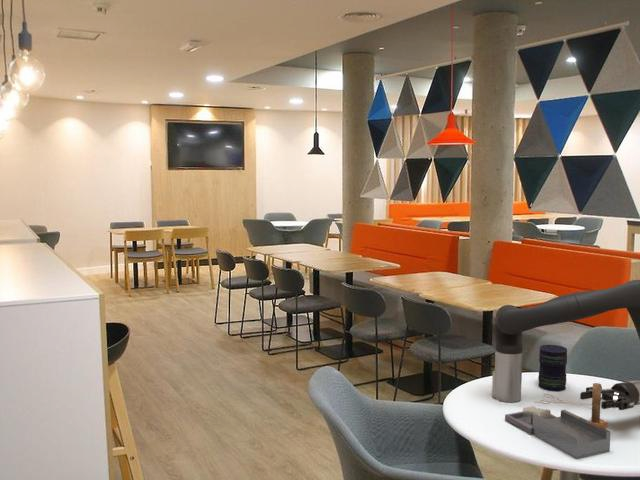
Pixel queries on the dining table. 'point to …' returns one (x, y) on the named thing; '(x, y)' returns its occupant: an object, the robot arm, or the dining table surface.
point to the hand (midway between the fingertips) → (591, 400)
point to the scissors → (559, 401)
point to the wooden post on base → (597, 406)
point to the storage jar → (552, 368)
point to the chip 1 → (528, 414)
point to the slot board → (572, 434)
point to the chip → (542, 413)
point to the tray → (520, 421)
